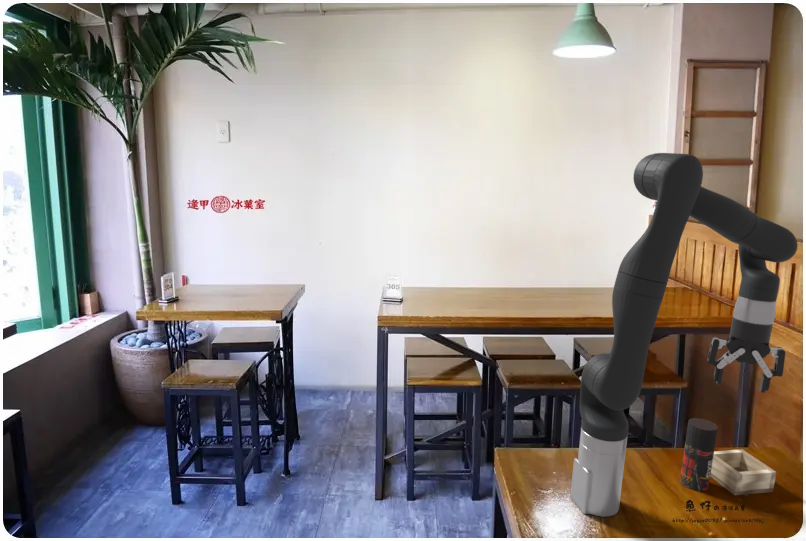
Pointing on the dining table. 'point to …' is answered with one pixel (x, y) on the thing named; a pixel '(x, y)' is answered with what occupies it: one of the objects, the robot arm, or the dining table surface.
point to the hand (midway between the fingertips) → (739, 387)
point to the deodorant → (698, 454)
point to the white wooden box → (742, 472)
